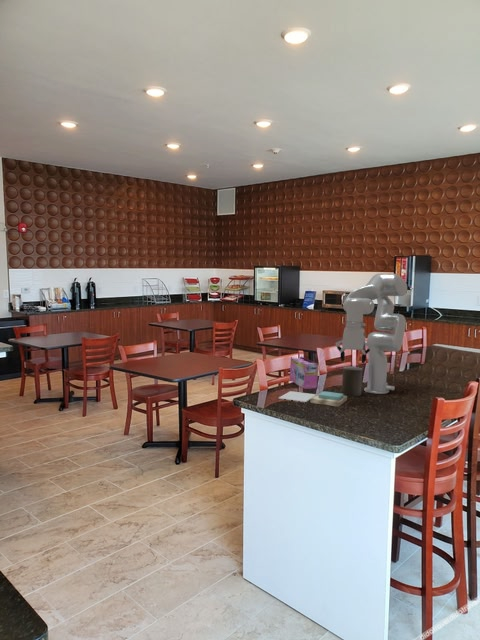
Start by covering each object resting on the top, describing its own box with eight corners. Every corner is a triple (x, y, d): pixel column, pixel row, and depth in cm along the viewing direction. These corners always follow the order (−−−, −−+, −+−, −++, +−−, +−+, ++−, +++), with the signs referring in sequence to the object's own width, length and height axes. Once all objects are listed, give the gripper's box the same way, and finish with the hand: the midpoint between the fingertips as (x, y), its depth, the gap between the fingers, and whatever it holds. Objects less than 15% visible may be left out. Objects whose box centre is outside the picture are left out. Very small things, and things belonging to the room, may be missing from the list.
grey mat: (316, 395, 246) (316, 394, 246) (305, 402, 231) (305, 401, 231) (290, 392, 252) (290, 391, 252) (278, 398, 238) (278, 397, 238)
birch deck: (346, 399, 237) (347, 395, 237) (339, 406, 225) (339, 402, 225) (319, 396, 244) (319, 392, 244) (310, 402, 231) (310, 398, 231)
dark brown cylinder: (347, 397, 243) (348, 367, 242) (338, 392, 253) (339, 364, 251) (364, 396, 246) (366, 367, 245) (355, 391, 255) (356, 363, 254)
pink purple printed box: (288, 379, 283) (289, 356, 282) (301, 379, 285) (301, 356, 284) (304, 389, 260) (304, 364, 258) (317, 388, 262) (318, 363, 261)
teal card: (343, 397, 235) (343, 393, 235) (338, 400, 228) (339, 397, 228) (323, 394, 240) (323, 391, 239) (318, 397, 232) (318, 394, 232)
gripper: (374, 325, 225) (373, 362, 227) (338, 323, 233) (337, 358, 235) (371, 327, 219) (369, 364, 220) (333, 324, 227) (332, 361, 228)
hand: (353, 361), depth 228 cm, fingers open, 9 cm apart
